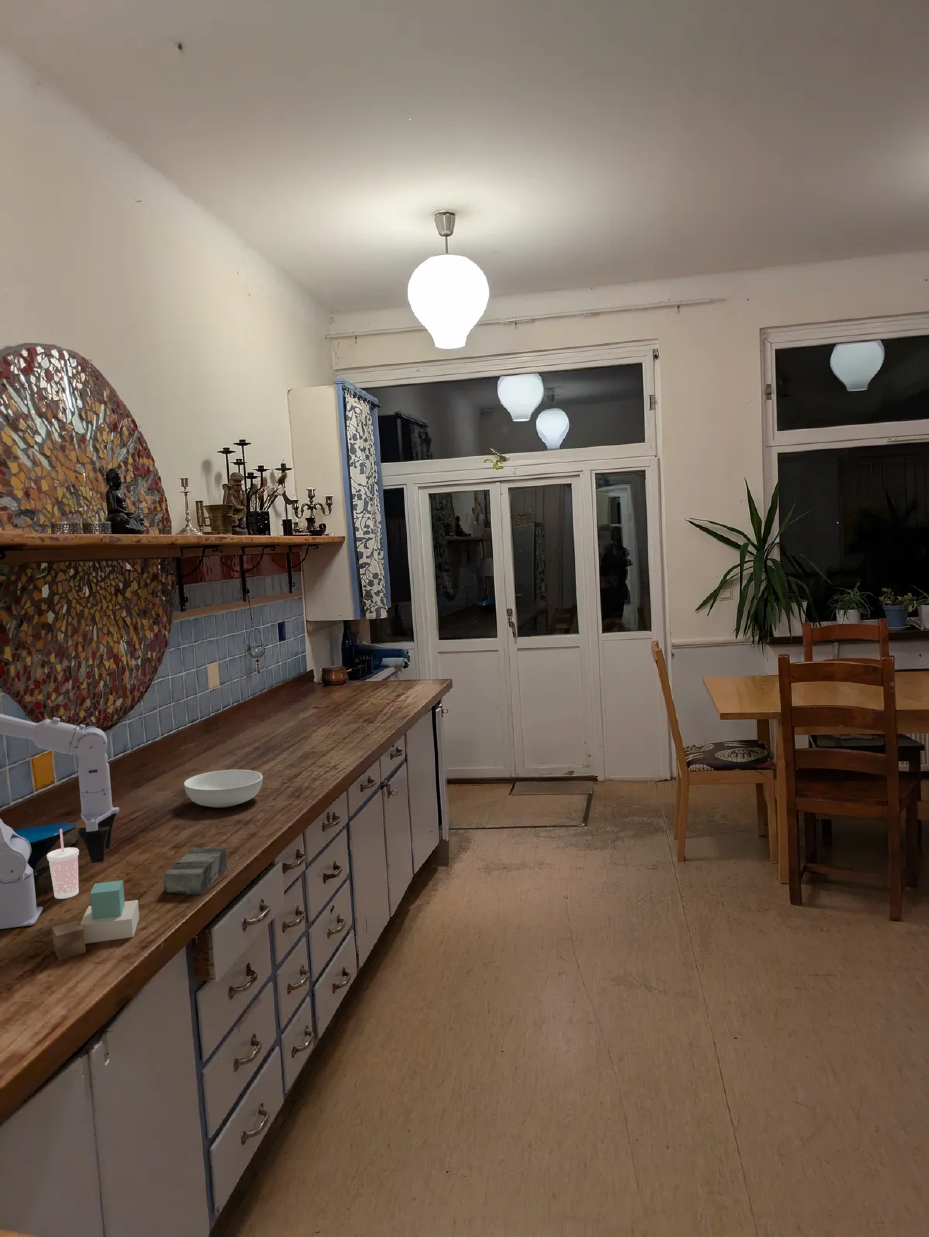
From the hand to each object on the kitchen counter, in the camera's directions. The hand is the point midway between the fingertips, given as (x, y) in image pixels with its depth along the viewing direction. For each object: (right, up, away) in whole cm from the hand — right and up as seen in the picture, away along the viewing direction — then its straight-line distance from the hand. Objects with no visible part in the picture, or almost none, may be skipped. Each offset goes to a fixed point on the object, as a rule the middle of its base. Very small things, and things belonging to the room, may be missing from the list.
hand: (101, 855), depth 182 cm
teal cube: (+6, -8, -11) cm, 15 cm away
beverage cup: (-10, -10, +8) cm, 17 cm away
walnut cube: (+2, -12, -19) cm, 23 cm away
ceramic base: (+6, -11, -11) cm, 17 cm away
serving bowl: (+7, -4, +69) cm, 69 cm away
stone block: (+15, -9, +12) cm, 21 cm away
